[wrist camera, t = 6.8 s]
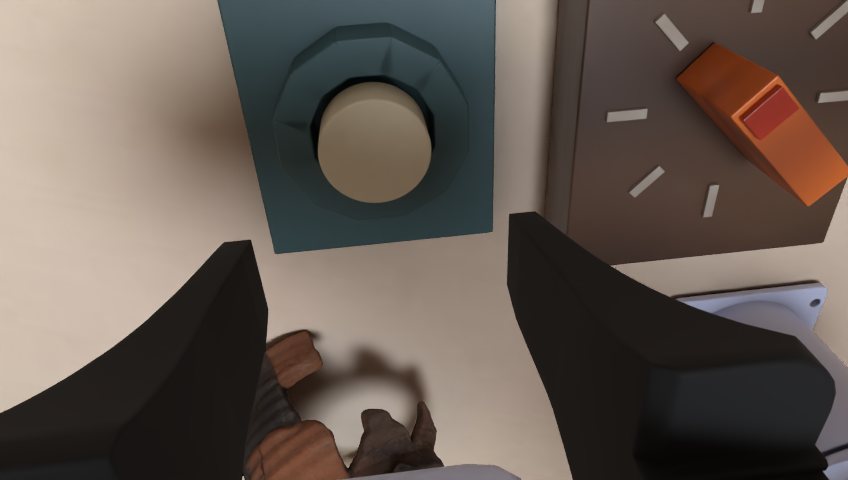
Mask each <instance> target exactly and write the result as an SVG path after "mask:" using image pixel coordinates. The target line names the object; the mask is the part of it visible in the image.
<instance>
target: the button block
mask: <svg viewBox="0 0 848 480" xmlns="http://www.w3.org/2000/svg"><path fill="white" fill-rule="evenodd" d="M218 5H219V9H220V14H221V18H222V23H223V27H224V31H225V36H226V40H227V45H228V49H229V53H230V58H231V62H232V67H233V71H234V75H235V80H236V84H237V89H238V93H239V97H240V102H241V106H242V111H243V115H244V119H245V124H246V128H247V133H248V137H249V141H250V146H251V150H252V155H253V159H254V163H255V168H256V172H257V177H258V181H259V186H260V190H261V194H262V199H263V203H264V208H265V212H266V216H267V221H268V225H269V230H270V234H271V238H272V243H273V247H274V252H275V254H282V253H292V252H301V251H311V250H321V249H331V248H341V247H351V246H361V245H371V244H380V243H390V242H400V241H410V240H420V239H430V238H440V237H450V236H459V235H469V234H479V233H489V232H492V231H493V180H494V103H495V26H496V0H218ZM365 82H381V83H386V84H390V85H393V86H395V87H398V88H399V89H401V90H403V91H404V92H406V93H407V94H408V95H409V96H411V97H412V98H413V99H414V101H415V102H416V103H417V104H418V106H419V108H420V109H421V111H422V114H423V116H424V119H425V123H426V126H427V130H428V133H429V137H430V141H431V160H430V164H429V167H428V169H427V172H426V174H425V175H424V177H423V178H422V180H421V181H420V182H419V183H418V185H417V186H416V187H415V188H413V189H412V190H411V191H410V192H408V193H407V194H405V195H403V196H402V197H400V198H397V199H395V200H391V201H388V202H382V203H367V202H361V201H358V200H354V199H352V198H350V197H347V196H346V195H344V194H342V193H341V192H339V191H338V190H337V189H336V188H334V187H333V186H332V185H331V184H330V182H329V181H328V180H327V178H326V177H325V175H324V173H323V172H322V169H321V166H320V163H319V159H318V142H319V132H320V124H321V119H322V116H323V113H324V111H325V109H326V107H327V106H328V104H329V103H330V102H331V100H332V99H333V98H334V97H335V96H336V95H338V94H339V93H340V92H341V91H343V90H345V89H346V88H348V87H351V86H353V85H356V84H359V83H365Z"/></svg>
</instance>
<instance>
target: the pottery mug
mask: <svg viewBox="0 0 848 480" xmlns="http://www.w3.org/2000/svg"><path fill="white" fill-rule="evenodd" d="M322 365H323V361H322V359H321V356H320V354H319V352H318V351H317V350H316V349H315V347H314V344H313V341H312V339H311V337H310V334H309V333H308V332H307V331H303V332H300V333H298V334H295V335H292V336H289V337H288V338H286V339H284V340H282V341H280V342H278V343H277V344H276V345H274V346H273V347H271V348H270V349H268V350H267V351H266V352H265V353H264V358H263V363H262V367H261V372H260V377H259V381H258V386H257V391H256V395H255V400H254V404H253V409H252V413H251V418H250V423H249V427H248V433H247V439H246V445H245V454H244V464H243V474H242V476H244V478H245V480H342V479H350V478H358V477H366V476H374V475H382V474H390V473H398V472H406V471H414V470H422V469H430V468H438V467H444V464H443V463H442V461H441V460H440V459H439V458H438V457H437V456H436V454H435V452H434V445H435V440H436V432H437V430H436V428H435V426H434V423H433V421H432V418H431V415H430V412H429V410H428V408H427V406H426V404H425V402H423V401H421V402H419V403H418V405H417V419H416V423H415V426H414V429H413V432H412V434H411V437H410V434H409V432H408V430H407V429H406V428H405V427H404V426H403V425H402V424H400V423H399V422H397V421H395V420H394V419H392V417H391V416H390V414H389V413H388V412H387V411H385V410H382V409H367V410H364V411H363V412H362V414H361V419H362V424H363V428H364V433H363V435H362V437H361V441H360V445H359V448H358V451H357V454H356V456H355V457H354V459H353V461H352V463H351V464H350V467H349V468H347V467H346V466H345V464H344V462H343V460H342V458H341V456H340V454H339V451H338V449H337V446H336V443H335V439H334V435H333V433H332V431H331V430H329V429H328V428H327V427H326V426H325V425H324V424H322V423H321V422H319V421H317V420H305V421H301V419H300V416H299V414H298V413H297V412H296V410H295V409H294V407H293V406H292V404H291V403H290V401H289V399H288V393H287V390H288V389H289V388H290V387H292V386H293V385H294V384H295V383H296V382H297V381H299V380H301V379H303V378H304V377H306V376H308V375H309V374H311V373H313V372H315V371H317V370H319V369H321V367H322Z"/></svg>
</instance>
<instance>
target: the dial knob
mask: <svg viewBox="0 0 848 480" xmlns="http://www.w3.org/2000/svg"><path fill="white" fill-rule="evenodd" d="M676 79H677V81H678V82H679V83H680V84H681V85H682V87H683V88H684V89H685V90H686V91H687V92H688V93H689V94H690V96H691V97H692V98H693V99H694V100H695V101H696V102H697V104H698V105H699V106H700V107H701V108H702V109H703V110H704V111H705V113H706V114H707V115H708V116H709V117H710V118H711V119H712V120H713V122H714V123H715V124H716V125H717V126H718V127H719V128H720V130H721V131H722V132H723V133H724V134H725V135H726V136H727V137H728V139H729V140H730V141H731V142H732V143H733V144H734V145H735V147H736V148H737V149H738V150H739V151H740V152H741V153H742V154H743V156H744V157H745V158H746V159H747V160H748V161H749V162H750V163H752V164H753V165H754V166H756V167H757V168H758V169H759V170H761V171H762V172H763V173H765V174H766V175H767V176H768V177H770V178H771V179H772V180H774V181H775V182H776V183H777V184H779V185H780V186H781V187H783V188H784V189H785V190H786V191H788V192H789V193H790V194H792V195H793V196H794V197H795V198H797V199H798V200H799V201H801V202H802V203H803V204H804V205H806V206H810V205H811V204H813V203H814V202H815V201H817V200H818V199H819V198H820V197H822V196H823V195H824V194H826V193H827V192H828V191H830V190H831V189H832V188H833V187H835V186H836V185H837V184H839V183H840V182H841V181H842V180H844V179H845V178H846V177H848V166H847V164H846V163H845V162H844V160H843V159H842V158H841V157H840V155H839V154H838V153H837V151H836V150H835V149H834V147H833V146H832V145H831V143H830V142H829V141H828V140H827V138H826V137H825V136H824V134H823V133H822V132H821V130H820V129H819V128H818V126H817V125H816V124H815V123H814V121H813V120H812V119H811V117H810V116H809V115H808V113H807V112H806V111H805V109H804V108H803V107H802V106H801V104H800V103H799V102H798V100H797V99H796V98H795V96H794V95H793V94H792V92H791V91H790V90H789V89H788V87H787V86H786V85H785V83H784V82H783V81H782V79H781V78H780V77H779V76H778V75H777V74H775V73H773V72H771V71H769V70H767V69H765V68H763V67H761V66H759V65H757V64H756V63H754V62H752V61H750V60H748V59H746V58H744V57H742V56H740V55H738V54H736V53H735V52H733V51H731V50H729V49H727V48H725V47H723V46H721V45H719V44H717V43H714V44H713V45H712V46H710V47H709V48H708V49H707V50H706V51H705V52H704V53H703V54H702V55H701V56H700V57H699V58H698V59H697V60H695V61H694V62H693V63H692V64H691V65H690V66H689V67H688V68H687V69H686V70H685V71H684V72H683V73H681V74H680V75H679V76H678V77H677V78H676Z"/></svg>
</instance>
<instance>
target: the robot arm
mask: <svg viewBox="0 0 848 480" xmlns="http://www.w3.org/2000/svg"><path fill="white" fill-rule="evenodd" d="M507 286H508V290H509V294H510V298H511V302H512V305H513V309H514V313H515V316H516V320H517V322H518V325H519V327H520V330H521V332H522V334H523V337H524V339H525V342H526V344H527V347H528V349H529V351H530V354H531V356H532V358H533V361H534V363H535V365H536V368H537V370H538V373H539V375H540V377H541V380H542V382H543V384H544V387H545V389H546V392H547V394H548V397H549V400H550V402H551V405H552V408H553V411H554V414H555V418H556V421H557V425H558V428H559V431H560V435H561V438H562V442H563V445H564V449H565V452H566V456H567V459H568V463H569V467H570V470H571V474H572V478H573V480H848V367H847V366H846V365H845V364H844V363H843V362H842V361H841V360H840V359H839V358H838V357H837V356H836V355H835V354H834V353H833V352H832V351H831V350H830V349H829V347H828V346H827V345H826V344H825V343H824V342H823V341H822V340H821V339H820V338H819V337H818V336H817V335H816V334H815V333H814V332H813V331H812V330H813V328H814V325H815V323H816V320H817V318H818V315H819V313H820V310H821V308H822V305H823V303H824V300H825V298H826V295H827V292H828V290H827V288H826V287H825V286H824V285H823V284H821V283H811V284H802V285H793V286H784V287H774V288H765V289H756V290H747V291H738V292H729V293H720V294H711V295H702V296H693V297H683V298H678V299H673V298H671V297H668V296H666V295H664V294H662V293H659V292H657V291H655V290H653V289H651V288H649V287H647V286H645V285H643V284H641V283H639V282H637V281H635V280H634V279H632V278H630V277H628V276H626V275H625V274H623V273H621V272H619V271H618V270H616V269H615V268H613V267H611V266H610V265H608V264H607V263H605V262H603V261H602V260H600V259H599V258H597V257H596V256H594V255H593V254H591V253H590V252H588V251H587V250H586V249H584V248H583V247H581V246H580V245H579V244H577V243H576V242H574V241H573V240H572V239H570V238H569V237H568V236H566V235H565V234H564V233H563V232H561V231H560V230H559V229H557V228H556V227H555V226H553V225H552V224H551V223H550V222H548V221H547V220H546V219H544V218H543V217H542V216H541V215H539V214H538V213H536V212H535V211H534V212H524V213H514V214H509V237H508V270H507ZM267 323H268V306H267V302H266V298H265V294H264V290H263V286H262V282H261V278H260V274H259V270H258V266H257V262H256V258H255V254H254V250H253V246H252V242H251V240H243V241H233V242H224V243H223V244H222V245H221V246H220V247H219V248H218V249H217V250H216V251H215V252H214V253H213V254H212V255H211V256H210V258H209V259H208V260H207V261H206V262H205V263H204V264H203V265H202V266H201V267H200V268H199V269H198V271H197V272H196V273H195V274H194V275H193V276H192V277H191V278H190V279H189V280H188V281H187V282H186V283H185V284H184V285H183V286H182V287H181V288H180V289H179V290H178V291H177V292H176V293H175V294H174V295H173V296H172V297H171V298H170V299H169V300H168V301H167V302H166V303H165V304H164V305H163V306H162V307H160V308H159V309H158V310H157V311H156V312H155V313H154V314H153V315H152V316H151V317H150V318H149V319H148V320H146V321H145V322H144V323H143V324H142V325H141V326H139V327H138V328H137V329H136V330H134V331H133V332H132V333H131V334H129V335H128V336H127V337H126V338H124V339H123V340H122V341H120V342H119V343H118V344H116V345H115V346H114V347H112V348H111V349H110V350H108V351H107V352H105V353H104V354H102V355H101V356H99V357H98V358H96V359H95V360H93V361H92V362H90V363H89V364H87V365H86V366H84V367H83V368H81V369H80V370H78V371H77V372H75V373H74V374H72V375H70V376H69V377H67V378H65V379H64V380H62V381H60V382H59V383H57V384H55V385H53V386H52V387H50V388H48V389H46V390H45V391H43V392H41V393H39V394H37V395H35V396H34V397H32V398H30V399H28V400H26V401H24V402H22V403H20V404H18V405H16V406H14V407H12V408H10V409H8V410H6V411H4V412H2V413H0V480H242V474H243V464H244V454H245V445H246V439H247V433H248V427H249V423H250V418H251V413H252V409H253V404H254V400H255V395H256V391H257V386H258V381H259V377H260V372H261V367H262V363H263V358H264V353H265V348H266V337H267ZM342 480H521V479H520V478H519V477H517V476H515V475H513V474H511V473H509V472H508V471H506V470H504V469H502V468H500V467H498V466H495V465H478V464H462V465H454V466H446V467H438V468H430V469H422V470H414V471H406V472H398V473H390V474H382V475H374V476H366V477H358V478H350V479H342Z"/></svg>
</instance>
